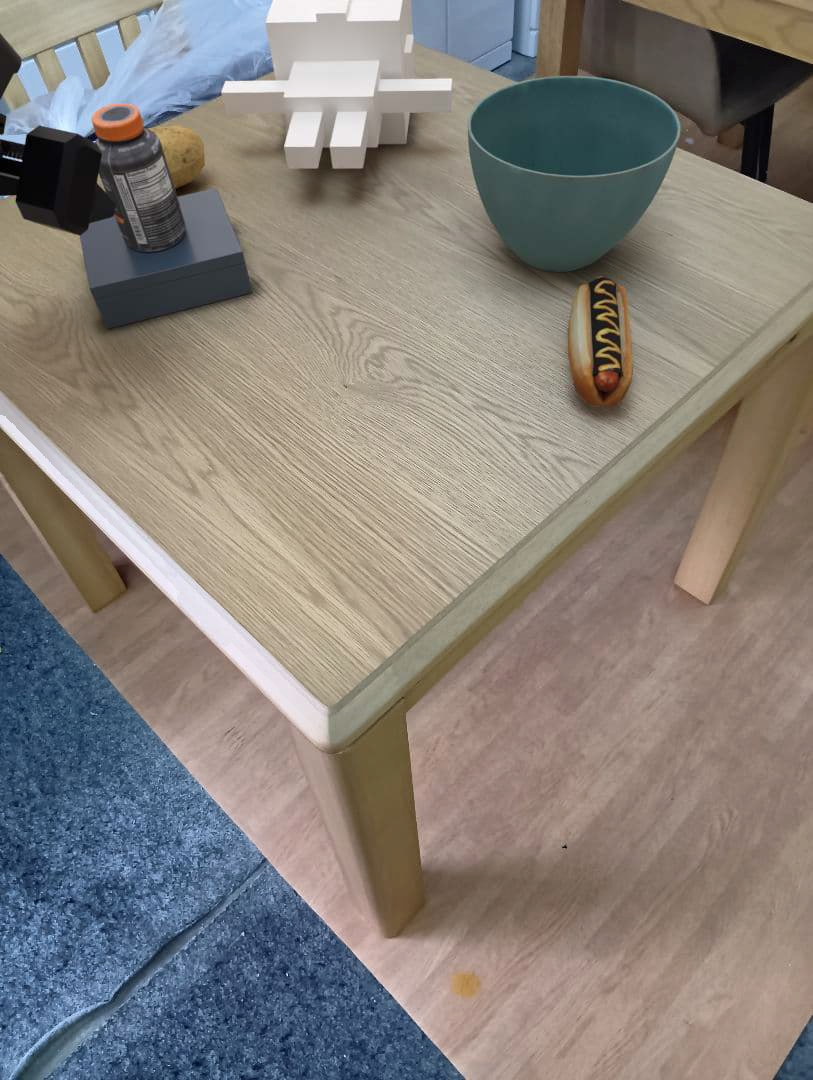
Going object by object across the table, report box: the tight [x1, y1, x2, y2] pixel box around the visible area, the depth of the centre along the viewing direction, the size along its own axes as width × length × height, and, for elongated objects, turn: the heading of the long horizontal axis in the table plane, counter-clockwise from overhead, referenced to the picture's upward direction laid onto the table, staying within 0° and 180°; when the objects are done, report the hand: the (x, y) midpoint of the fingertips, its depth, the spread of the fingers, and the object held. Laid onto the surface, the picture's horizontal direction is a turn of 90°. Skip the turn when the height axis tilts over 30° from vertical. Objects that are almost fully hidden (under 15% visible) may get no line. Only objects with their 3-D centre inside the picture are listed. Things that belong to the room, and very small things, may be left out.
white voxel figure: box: [220, 0, 453, 169], centre depth 87 cm, size 15×25×28 cm
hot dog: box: [567, 275, 634, 408], centre depth 66 cm, size 5×13×5 cm, turn 174°
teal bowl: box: [467, 75, 682, 273], centre depth 73 cm, size 18×18×12 cm
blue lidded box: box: [79, 187, 253, 330], centre depth 76 cm, size 14×12×4 cm
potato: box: [147, 125, 206, 190], centre depth 86 cm, size 7×11×6 cm, turn 94°
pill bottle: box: [91, 102, 186, 252], centre depth 70 cm, size 6×6×11 cm
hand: (68, 198), depth 64 cm, fingers open, 9 cm apart
